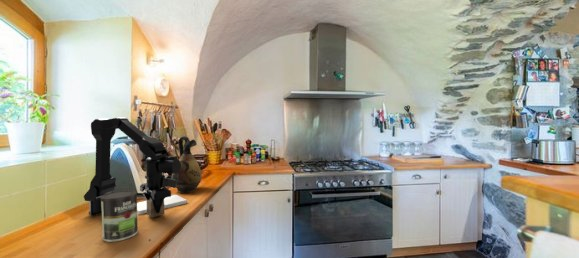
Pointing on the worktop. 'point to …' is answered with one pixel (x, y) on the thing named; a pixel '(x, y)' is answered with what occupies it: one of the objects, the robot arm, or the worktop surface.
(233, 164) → the worktop surface
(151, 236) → the worktop surface
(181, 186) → the ceramic jug
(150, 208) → the walnut block
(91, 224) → the worktop surface
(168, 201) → the chopping board
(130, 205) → the coffee can
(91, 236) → the worktop surface
